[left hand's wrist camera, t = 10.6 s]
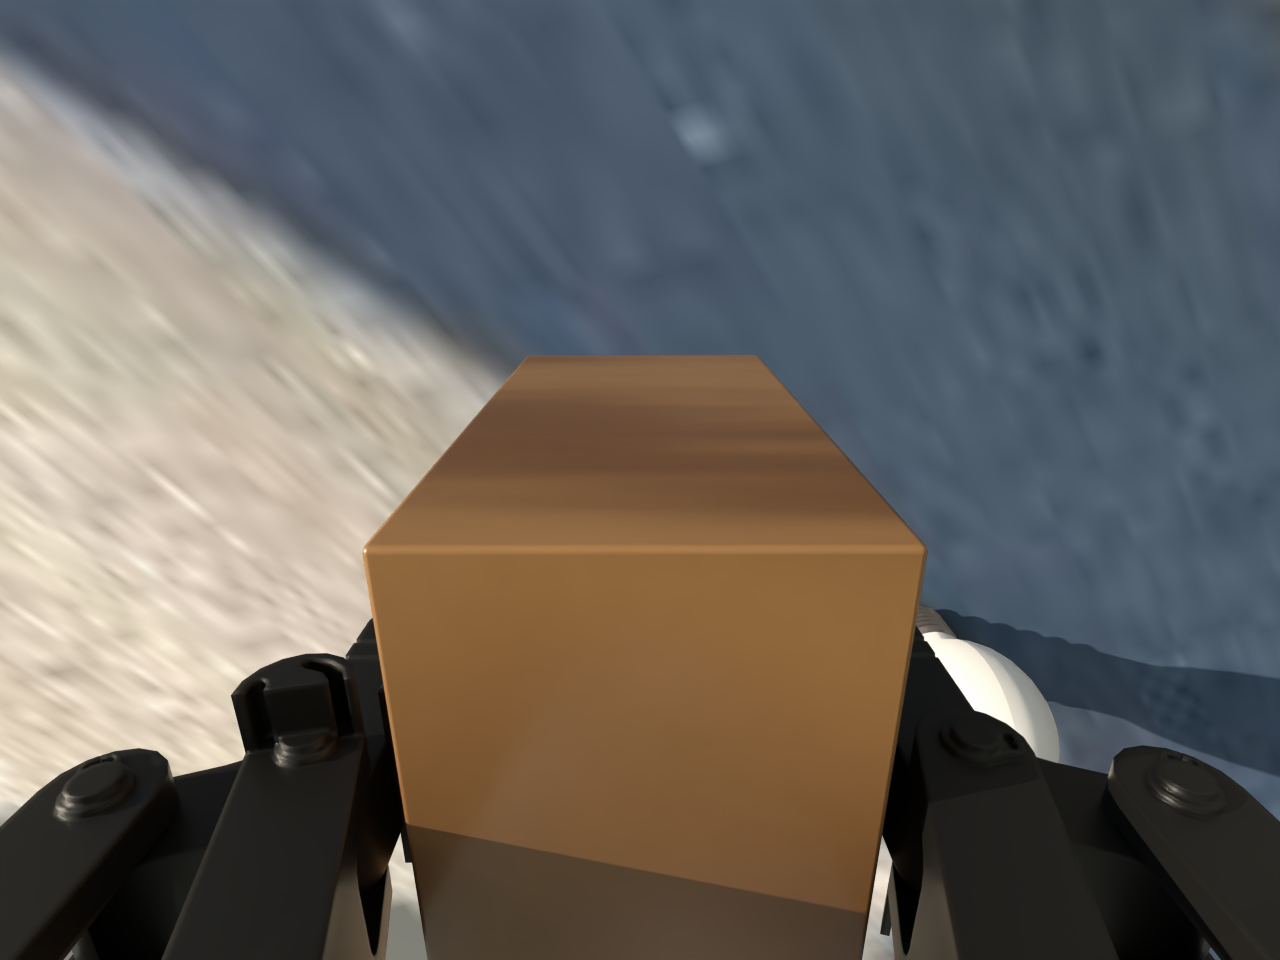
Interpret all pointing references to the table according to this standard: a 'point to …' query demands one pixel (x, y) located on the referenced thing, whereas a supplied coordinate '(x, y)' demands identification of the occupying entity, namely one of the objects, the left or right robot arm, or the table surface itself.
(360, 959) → the left robot arm
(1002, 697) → the light bulb
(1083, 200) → the table surface
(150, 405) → the table surface
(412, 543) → the bar
